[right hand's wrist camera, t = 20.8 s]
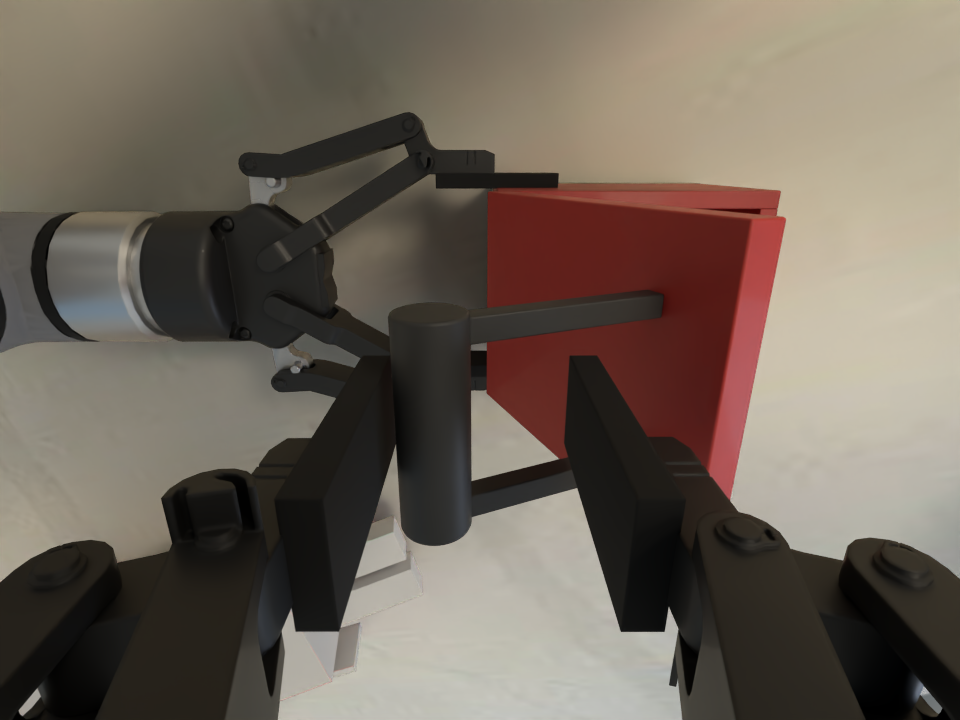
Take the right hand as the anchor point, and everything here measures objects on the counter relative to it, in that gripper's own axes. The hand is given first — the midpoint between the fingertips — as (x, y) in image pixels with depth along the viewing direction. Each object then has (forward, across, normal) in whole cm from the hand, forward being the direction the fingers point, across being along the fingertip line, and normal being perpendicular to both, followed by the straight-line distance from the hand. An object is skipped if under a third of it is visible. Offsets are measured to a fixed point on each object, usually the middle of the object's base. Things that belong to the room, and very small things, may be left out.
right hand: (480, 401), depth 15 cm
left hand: (+17, +4, 0) cm, 18 cm away
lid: (+6, +4, 0) cm, 7 cm away
